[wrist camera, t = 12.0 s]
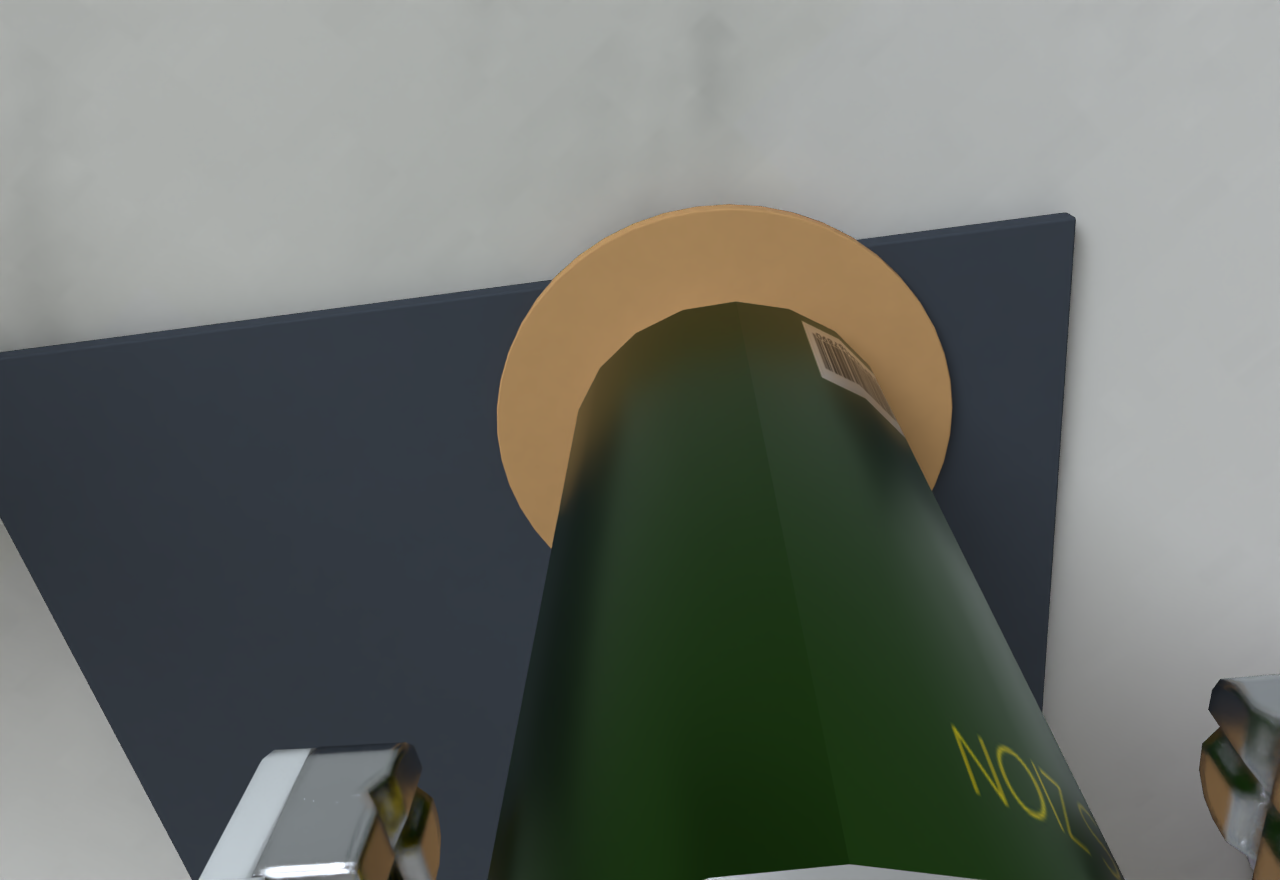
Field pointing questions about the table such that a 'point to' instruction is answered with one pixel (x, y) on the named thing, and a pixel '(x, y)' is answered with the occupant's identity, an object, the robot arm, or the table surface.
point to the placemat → (467, 487)
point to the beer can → (770, 641)
